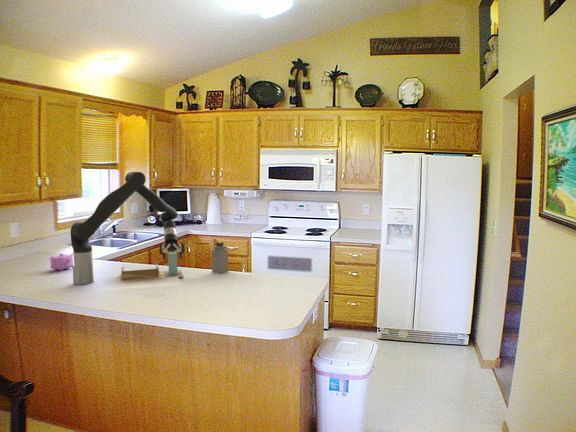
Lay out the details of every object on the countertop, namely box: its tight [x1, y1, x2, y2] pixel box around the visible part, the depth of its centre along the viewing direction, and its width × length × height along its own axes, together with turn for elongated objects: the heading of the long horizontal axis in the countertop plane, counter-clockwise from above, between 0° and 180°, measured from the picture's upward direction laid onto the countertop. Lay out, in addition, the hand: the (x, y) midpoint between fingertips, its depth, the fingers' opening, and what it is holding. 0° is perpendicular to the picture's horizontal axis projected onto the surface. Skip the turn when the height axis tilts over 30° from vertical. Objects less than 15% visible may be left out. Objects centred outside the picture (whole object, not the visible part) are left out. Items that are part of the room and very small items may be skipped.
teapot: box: [47, 252, 74, 272], centre depth 274 cm, size 18×13×10 cm
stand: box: [119, 263, 184, 282], centre depth 255 cm, size 16×34×6 cm, turn 109°
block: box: [167, 251, 178, 274], centre depth 258 cm, size 4×4×12 cm
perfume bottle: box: [211, 241, 229, 274], centre depth 268 cm, size 7×7×18 cm
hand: (172, 258), depth 260 cm, fingers open, 8 cm apart
